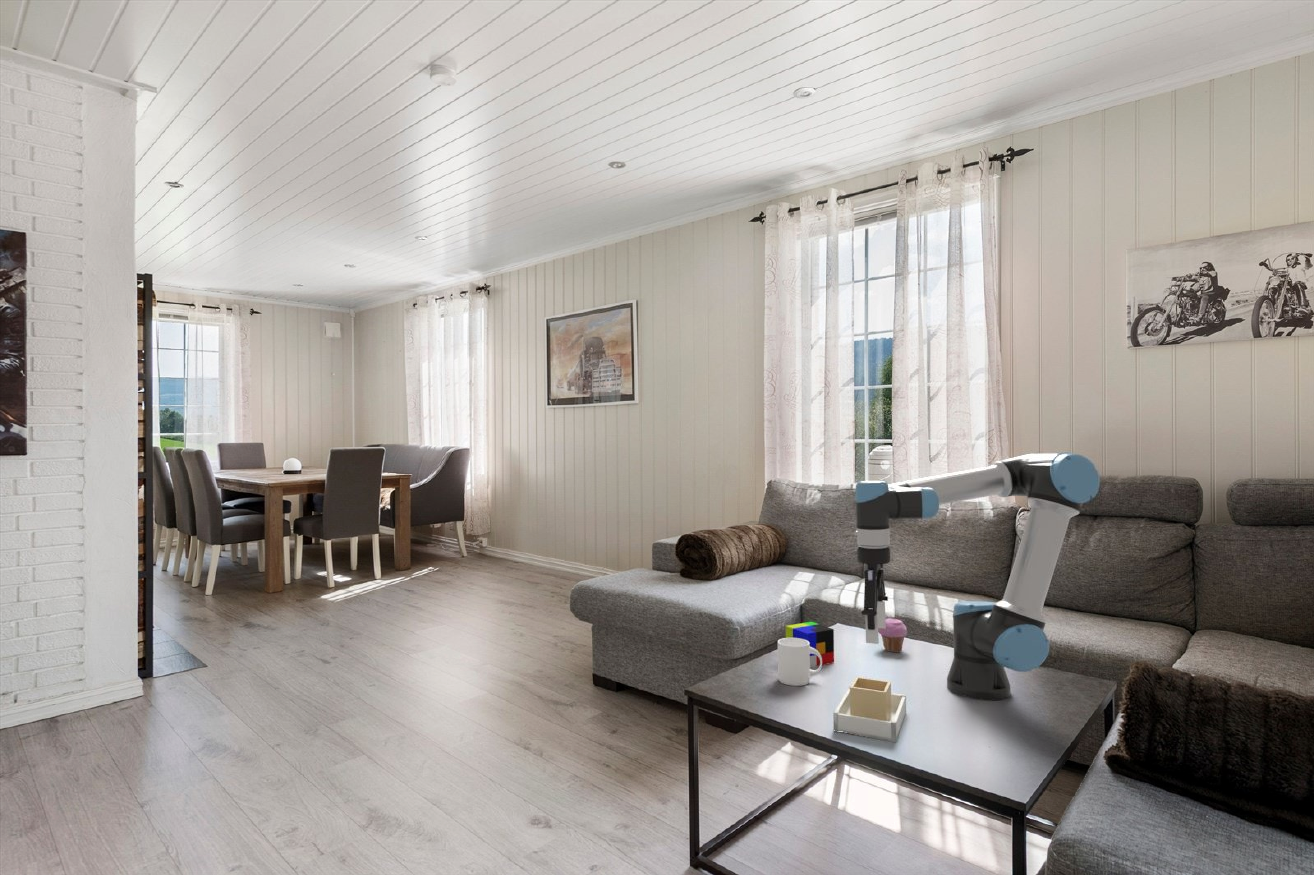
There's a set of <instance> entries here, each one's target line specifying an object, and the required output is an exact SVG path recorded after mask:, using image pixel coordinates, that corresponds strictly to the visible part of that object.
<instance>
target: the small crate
mask: <svg viewBox="0 0 1314 875" xmlns="http://www.w3.org/2000/svg"><path fill="white" fill-rule="evenodd" d="M891 693H892V681H889V680H888V681H887V680H882V679H874V678H867V677H861V676H856V677H855V679H854V680H853V681H852V683H851V685H850V715H852V716H859V717H865V718H871V719H877V720H883V721H889V720H890V718H891Z"/></svg>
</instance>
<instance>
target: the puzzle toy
mask: <svg viewBox="0 0 1314 875" xmlns="http://www.w3.org/2000/svg"><path fill="white" fill-rule="evenodd" d="M834 631H835V630H834V628H831V627H829V626H825V625H822V624H819V623H816V622H813V621H807V622H802V623H795V624H788V625H785V638H800V639H804V640H807V641H809V643H810V647H812V648H814V649H816V650H817V651H818V652H819V653H820V655H821V657H822V666H825V665H828V664H827V663H830V664H833V663H832V662H834V663H835V632H834ZM820 664H821V662H820V659H819V657H818V656H817V655H815V654H810V668H814V667H815V668H816V667H820ZM824 664H825V665H824Z"/></svg>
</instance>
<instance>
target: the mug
mask: <svg viewBox="0 0 1314 875" xmlns="http://www.w3.org/2000/svg"><path fill="white" fill-rule="evenodd" d="M810 654H815V655H817V656H818V657H819V659H820V662H821V664H820V666H818V668H817V669H815V670H814V669H811V667H810ZM822 666H823V665H822V657H821V655H820V653H819V652H818V651H817V650H816V649H814V648H812V647H810V643H809V641H807V640H804V639H800V638H786V637H783V638H780V639H778V640H777V678H778V681H779V682H780V683H782V684H783V685H786V686H791V687H792V686H793V687H800V686H801V687H802V686H805V685H807V684H809V683H810V679H811V677H814V676H817V674H819V673H820V672H821V669H822Z"/></svg>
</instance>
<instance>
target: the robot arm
mask: <svg viewBox="0 0 1314 875" xmlns="http://www.w3.org/2000/svg"><path fill="white" fill-rule="evenodd" d="M1098 471H1099V470H1097V468H1096V466H1095V464H1094V463H1093V462H1092V461H1091V460H1090V459H1088V458H1087V457H1086V456H1084V455H1082V454H1078V453H1077V454H1076V453H1070V452H1057V453H1056V452H1034V453H1033V452H1032V453H1028V454H1023V455H1019V456H1015V457H1011V458H1006V459H1002V460H995V461H994V462H992V463H991V464H990V466H987V467H986V466H985V467H980V468H973V469H969V470H964V471H963V470H962V471H957V472H952V473H945V474H942V475H941V474H940V475H934V476H928V477H923V478H918V479H913V480H912V479H911V480H906V481H902V482H896V483H895V482H894V483H891V484H890V483H888V482H887V481H886V480H885V481H884V480H862V481H859V482H857V483H856V484H855V491H854V494H855V495H854V503H855V519H856V520H855V522H856V526H855V527H856V531H854V532H853V534H854V536H856V544H857V545H858V546H857V547H856V555H857V557H856V558H857V559H856V560H857V562H859V563H860V564H862V565H865V564H866V566H867V567H866V569H865V570H864V573H863V574H864V591H863V592H864V595H863V596H864V598H863V610H861V615H864V622H865V628H864V629H865V643H867V644H872V645H873V644H876V645H878V644H879V642H880V640H879V632H878V628H884V629H885V628H886V621H885V619H886V602H888V601H889V596H888V595H887V592H886V585H885V577H884V576H885V571H884V565H887V564H889V563H890V562H891V548H890V547H889V545H890V544H891V534H890V530H891V529H890V521H898V520H922V521H923V520H924V519H933V518H935V517H936V516H937V514H938V513H939V510H940V506H941V505H947V504H952V503H958V502H963V501H968V500H974V499H975V500H976V499H979V498H985V497H986V498H987V497H992V496H998V497H999V498H1008V497H1027V498H1026V501H1027V503H1028V504H1029V505H1030V511H1029V514H1028V517H1027V521H1026V524H1025V527H1024V529H1023V530H1024V531H1023V533H1022V535H1021V536H1022V537H1021V540H1020V544H1019V546H1018V550H1017V552H1016V556H1015V559H1014V562H1013V565H1012V567H1011V572H1010V576H1009V578H1008V581H1007V585H1006V588H1005V590H1004V594H1003V597H1002V599H1001V600H999V601H997V602H994V601H982V600H981V601H979V600H976V601H974V600H972V601H970V600H969V601H968V600H967V601H959V602H957V603H955V604H954V605H953V612H952V618H953V620H952V621H953V624H952V626H953V629H952V630H953V659H952V662H951V665H950V668H949V671H948V674H947V676H946V686H947V689H949V691H951V692H952V693H954V694H957V695H959V696H962V697H966V698H969V699H975V700H976V699H977V700H983V701H999V700H1005V699H1008V698H1009V697H1010V696H1011V693H1012V692H1011V688H1012V687H1011V684H1010V680H1009V678H1008V675H1007V673H1006V670H1005V668H1006V669H1008V670H1009V669H1010V670H1012V671H1015V672H1020V673H1021V672H1023V673H1025V672H1030V671H1033V670H1034V669H1037V668H1039V667H1040V666H1041V665H1042V664H1043V663H1044V662H1045V660H1046V659H1047V657H1048V656H1049V651H1050V641H1049V640H1048V636H1047V635H1046V633H1045V632H1044V629H1045V626H1046V623H1047V621H1046V618H1044V616H1043V614H1042V612H1043V611H1042V610H1043V607H1044V604H1045V600H1046V598H1047V595H1048V591H1049V588H1050V585H1051V582H1052V578H1053V575H1054V571H1055V569H1056V565H1057V562H1058V559H1059V556H1060V553H1061V549H1062V546H1063V542H1064V540H1065V536H1066V533H1067V529H1068V527H1069V523H1070V521H1071V520H1070V519H1071V518H1073V517H1075V516H1077V515H1079V514H1080V512H1081V509H1082V506H1083V504H1084V503H1087V502H1089V501H1090V500H1091V499H1094V498H1095V497H1096V495H1097V494H1098V492H1099V488H1100V482H1101V480H1100V474H1099V472H1098ZM886 595H887V596H886ZM885 601H886V602H885Z"/></svg>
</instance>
